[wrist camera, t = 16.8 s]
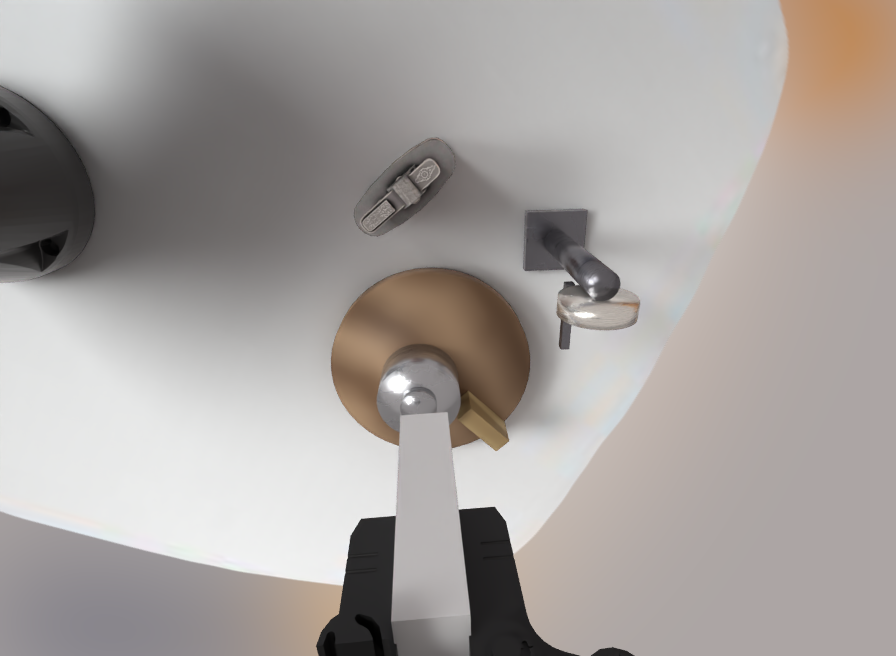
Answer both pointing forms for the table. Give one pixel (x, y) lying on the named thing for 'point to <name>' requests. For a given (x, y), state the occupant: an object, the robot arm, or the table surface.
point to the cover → (418, 384)
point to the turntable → (441, 325)
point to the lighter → (405, 187)
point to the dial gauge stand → (577, 273)
